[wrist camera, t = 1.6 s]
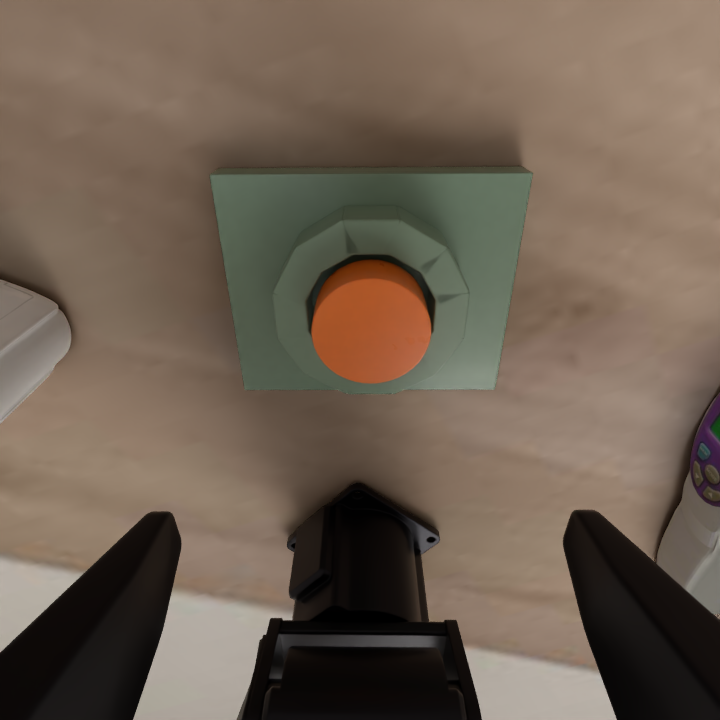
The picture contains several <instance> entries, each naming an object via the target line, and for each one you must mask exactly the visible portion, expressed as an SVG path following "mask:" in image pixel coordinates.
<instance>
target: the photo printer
mask: <svg viewBox="0 0 720 720" xmlns="http://www.w3.org/2000/svg"><path fill="white" fill-rule="evenodd" d="M70 344H71V330H70V326H69V323H68V321H67V319H66V317H65V315H64V313H63V312H62V311H61V310H59V309H58V305H57V304H56V303H55V302H53V301H52V300H50V299H48V298H46V297H44V296H42V295H40V294H37V293H35V292H33V291H31V290H28V289H26V288H23V287H20V286H18V285H16V284H12V283H9V282H7V281H4V280H1V279H0V423H1V422H2V421H3V420H5V419H6V418H7V417H8V416H9V415H10V414H11V413H12V412H13V411H14V410H15V409H16V408H17V407H18V406H19V405H20V404H21V403H22V402H23V401H24V400H25V399H26V398H27V397H28V396H29V395H30V394H31V393H32V392H33V391H34V390H35V389H36V388H37V387H38V386H39V385H40V384H42V383H43V382H44V381H45V380H46V378H47V377H48V376H49V375H50V374H51V372H52V371H53V370H54V366H55V365H56V364H57V363H58V362H59V361H60V360H61V359H62V358H63V357H64V356H65V355H66V353H67V352H68V350H69V348H70Z"/></svg>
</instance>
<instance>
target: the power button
mask: <svg viewBox="0 0 720 720" xmlns="http://www.w3.org/2000/svg"><path fill="white" fill-rule="evenodd" d="M311 335H312V341H313V345H314V348H315V350H316V352H317V354H318V356H319V357H320V359H321V360H322V361H323V363H324V364H325V365H326V366H327V367H328V368H329V369H330V370H332V371H333V372H334V373H336V374H337V375H339V376H341V377H343V378H346V379H348V380H351V381H355V382H359V383H370V384H372V383H382V382H387V381H391V380H394V379H396V378H399V377H401V376H402V375H404V374H406V373H407V372H409V371H410V370H412V369H413V368H414V367H415V366H416V365H417V364H418V363H419V362H420V360H421V359H422V358H423V356H424V354H425V353H426V351H427V349H428V346H429V343H430V339H431V321H430V317H429V313H428V309H427V305H426V301H425V298H424V294H423V292H422V290H421V287H420V286H419V284H418V283H417V281H416V280H415V279H414V278H413V276H412V275H411V274H409V273H408V272H407V271H406V270H404V269H403V268H401V267H400V266H397V265H395V264H393V263H390V262H387V261H382V260H374V259H368V260H360V261H355V262H352V263H349V264H347V265H345V266H343V267H341V268H339V269H338V270H336V271H335V272H334V273H333V274H332V275H330V276H329V278H328V279H327V280H326V281H325V282H324V284H323V285H322V287H321V289H320V291H319V293H318V297H317V300H316V305H315V310H314V315H313V320H312V327H311Z"/></svg>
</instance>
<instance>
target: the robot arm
mask: <svg viewBox="0 0 720 720" xmlns="http://www.w3.org/2000/svg"><path fill="white" fill-rule="evenodd" d="M355 492H360V493H355ZM439 541H440V537H439V532H438V531H437V530H436V529H435V528H433V527H432V526H430V525H428V524H427V523H425V522H423V521H422V520H420V519H419V518H417V517H415V516H414V515H412V514H410V513H409V512H407V511H406V510H404V509H402V508H401V507H399V506H397V505H396V504H394V503H393V502H391V501H389V500H388V499H386V498H385V497H383V496H381V495H380V494H378V493H376V492H375V491H373V490H372V489H370V488H368V487H367V486H365V485H363V484H361V483H354V484H352V485H350V486H349V487H348V488H347V489H345V490H344V491H343V492H342V493H341V494H339V495H338V496H337V497H336V498H335V499H334V500H332V501H331V502H330V503H329V504H328V505H325V506H323V507H322V508H321V509H320V510H318V511H317V512H316V513H315V514H314V515H313V516H311V517H310V518H309V519H308V520H307V521H305V522H304V523H303V524H302V525H301V526H299V527H298V529H297V530H296V531H295V532H294V533H293V534H292V535H290V536H289V538H288V541H287V547H288V549H290V550H291V551H293V552H294V558H293V565H292V572H291V579H290V586H289V596H290V598H291V599H294V600H295V604H294V612H293V620H283V619H282V618H271V619H270V622H269V626H268V630H267V634H266V635H263V638H262V639H261V640H260V642H259V648H258V653H257V659H256V664H255V669H254V673H253V677H252V680H251V684H250V686H249V689H248V692H247V694H246V697H245V699H244V702H243V704H242V707H241V710H240V712H239V715H238V717H237V720H482V718H481V713H480V708H479V703H478V699H477V695H476V691H475V688H474V684H473V680H472V677H471V673H470V669H469V665H468V662H467V658H466V654H465V650H464V647H463V643H462V639H461V635H460V632H459V628H458V624H457V621H456V620H444V622H429V619H428V610H427V602H426V593H425V585H424V576H423V568H422V560H421V554H423V553H424V552H426V551H427V550H429V549H430V548H432V547H433V546H434V545H436V544H437V543H438V542H439ZM563 547H564V552H565V556H566V560H567V564H568V568H569V572H570V576H571V580H572V584H573V588H574V592H575V596H576V599H577V603H578V607H579V611H580V615H581V619H582V623H583V626H584V630H585V633H586V636H587V639H588V642H589V644H590V647H591V650H592V653H593V655H594V658H595V661H596V664H597V666H598V669H599V672H600V674H601V677H602V680H603V683H604V685H605V688H606V691H607V694H608V696H609V699H610V702H611V705H612V707H613V710H614V713H615V715H616V718H617V720H720V620H719V619H718V618H717V617H716V616H715V615H713V614H712V613H711V612H710V611H709V610H708V609H707V608H706V607H704V606H703V605H702V604H701V603H700V602H699V601H698V600H697V599H695V598H694V597H693V596H692V595H691V594H690V593H689V592H688V591H686V590H685V589H684V588H683V587H682V586H681V585H680V584H679V583H678V582H676V581H675V580H674V579H673V578H672V577H671V576H670V575H669V574H667V573H666V572H665V571H664V570H663V569H662V568H661V567H660V566H658V565H657V564H656V563H655V562H654V561H653V560H652V559H651V558H649V557H648V556H647V555H646V554H645V553H644V552H643V551H642V550H640V549H639V548H638V547H637V546H636V545H635V544H634V543H633V542H631V541H630V540H629V539H628V538H627V537H626V536H625V535H624V534H622V533H621V532H620V531H619V530H618V529H617V528H616V527H615V526H613V525H612V524H611V523H610V522H609V521H608V520H607V519H606V518H604V517H603V516H602V515H601V514H600V513H599V512H597V511H595V510H574V511H573V512H572V514H571V516H570V519H569V522H568V525H567V528H566V531H565V534H564V537H563ZM180 552H181V537H180V534H179V531H178V528H177V525H176V522H175V519H174V516H173V514H172V513H171V512H168V511H161V512H150V513H148V514H146V515H145V516H144V517H143V518H142V519H141V520H140V521H139V522H138V523H137V524H136V525H135V526H134V527H133V528H131V529H130V530H129V531H128V532H127V533H126V534H125V535H124V536H123V537H122V538H121V539H120V540H119V541H118V542H117V543H116V544H115V545H113V546H112V547H111V548H110V549H109V550H108V551H107V552H106V553H105V554H104V555H103V556H102V557H101V558H100V559H99V560H98V561H97V562H96V563H94V564H93V565H92V566H91V567H90V568H89V569H88V570H87V571H86V572H85V573H84V574H83V575H82V576H81V577H80V578H79V579H78V580H76V581H75V582H74V583H73V584H72V585H71V586H70V587H69V588H68V589H67V590H66V591H65V592H64V593H63V594H62V595H61V596H60V597H59V598H57V599H56V600H55V601H54V602H53V603H52V604H51V605H50V606H49V607H48V608H47V609H46V610H45V611H44V612H43V613H42V614H41V615H39V616H38V617H37V618H36V619H35V620H34V621H33V622H32V623H31V624H30V625H29V626H28V627H27V628H26V629H25V630H24V631H23V632H22V633H20V634H19V635H18V636H17V637H16V638H15V639H14V640H13V641H12V642H11V643H10V644H9V645H8V646H7V647H6V648H5V649H4V650H2V651H1V652H0V720H133V718H134V715H135V712H136V709H137V706H138V703H139V700H140V697H141V694H142V691H143V688H144V685H145V682H146V679H147V676H148V673H149V671H150V668H151V665H152V662H153V659H154V656H155V653H156V650H157V647H158V644H159V640H160V637H161V634H162V631H163V627H164V623H165V619H166V614H167V610H168V605H169V601H170V596H171V592H172V587H173V583H174V579H175V574H176V570H177V565H178V561H179V556H180Z"/></svg>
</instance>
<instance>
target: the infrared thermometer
mask: <svg viewBox="0 0 720 720" xmlns="http://www.w3.org/2000/svg"><path fill="white" fill-rule="evenodd" d="M656 564H657V565H658V566H660V567H661V568H662V569H663V570H664V571H665V572H666V573H667V574H669V575H670V576H671V577H672V578H673V579H674V580H675V581H676V582H678V583H679V584H680V585H681V586H682V587H683V588H684V589H685V590H686V591H688V592H689V593H690V594H691V595H692V596H693V597H694V598H695V599H697V600H698V601H699V602H700V603H701V604H702V605H703V606H704V607H706V608H707V609H708V610H709V611H710V612H711V613H712V614H720V393H719V394H718V395H717V396H716V398H715V399H714V400H713V402H712V403H711V405H710V407H709V408H708V410H707V412H706V414H705V416H704V418H703V420H702V422H701V424H700V426H699V428H698V431H697V434H696V437H695V440H694V443H693V447H692V452H691V460H690V471H689V473H688V476H687V478H686V481H685V483H684V487H683V494H682V501H681V502H680V504H679V506H678V507H677V509H676V510H675V512H674V514H673V517H672V519H671V521H670V523H669V525H668V527H667V529H666V531H665V533H664V536H663V538H662V540H661V544H660V547H659V550H658V553H657V561H656Z"/></svg>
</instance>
